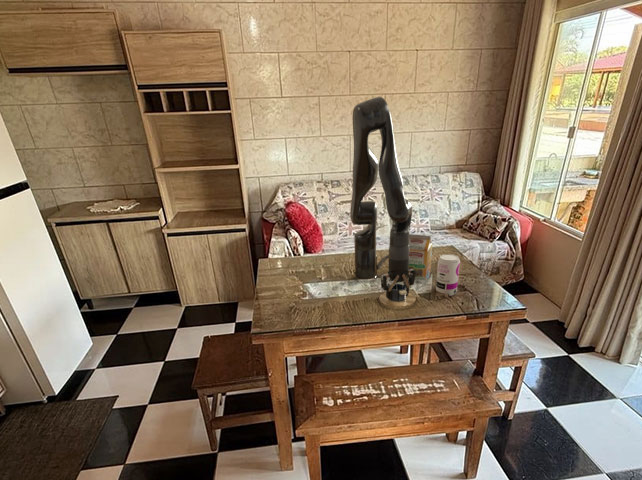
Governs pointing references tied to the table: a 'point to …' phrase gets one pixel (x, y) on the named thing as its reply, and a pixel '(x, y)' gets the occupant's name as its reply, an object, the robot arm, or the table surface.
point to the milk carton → (420, 255)
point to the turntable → (407, 301)
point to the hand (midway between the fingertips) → (397, 297)
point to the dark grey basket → (398, 293)
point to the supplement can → (447, 274)
